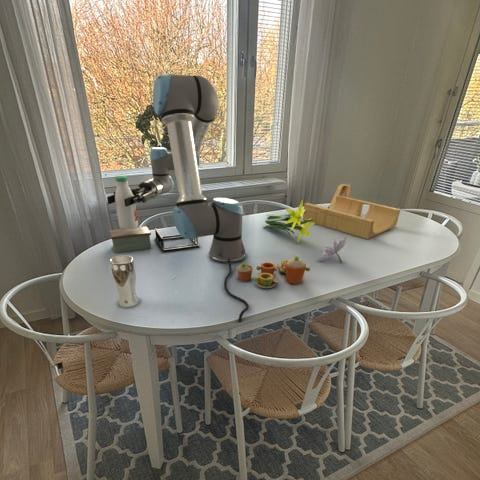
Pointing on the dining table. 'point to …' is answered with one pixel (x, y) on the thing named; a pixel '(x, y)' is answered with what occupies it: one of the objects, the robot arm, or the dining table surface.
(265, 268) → the toy tea set
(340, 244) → the water lily
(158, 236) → the dish rack
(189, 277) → the dining table surface
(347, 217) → the skate ramp
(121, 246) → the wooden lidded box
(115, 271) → the beer glass
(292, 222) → the daffodil flowers
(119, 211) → the milk bottle
